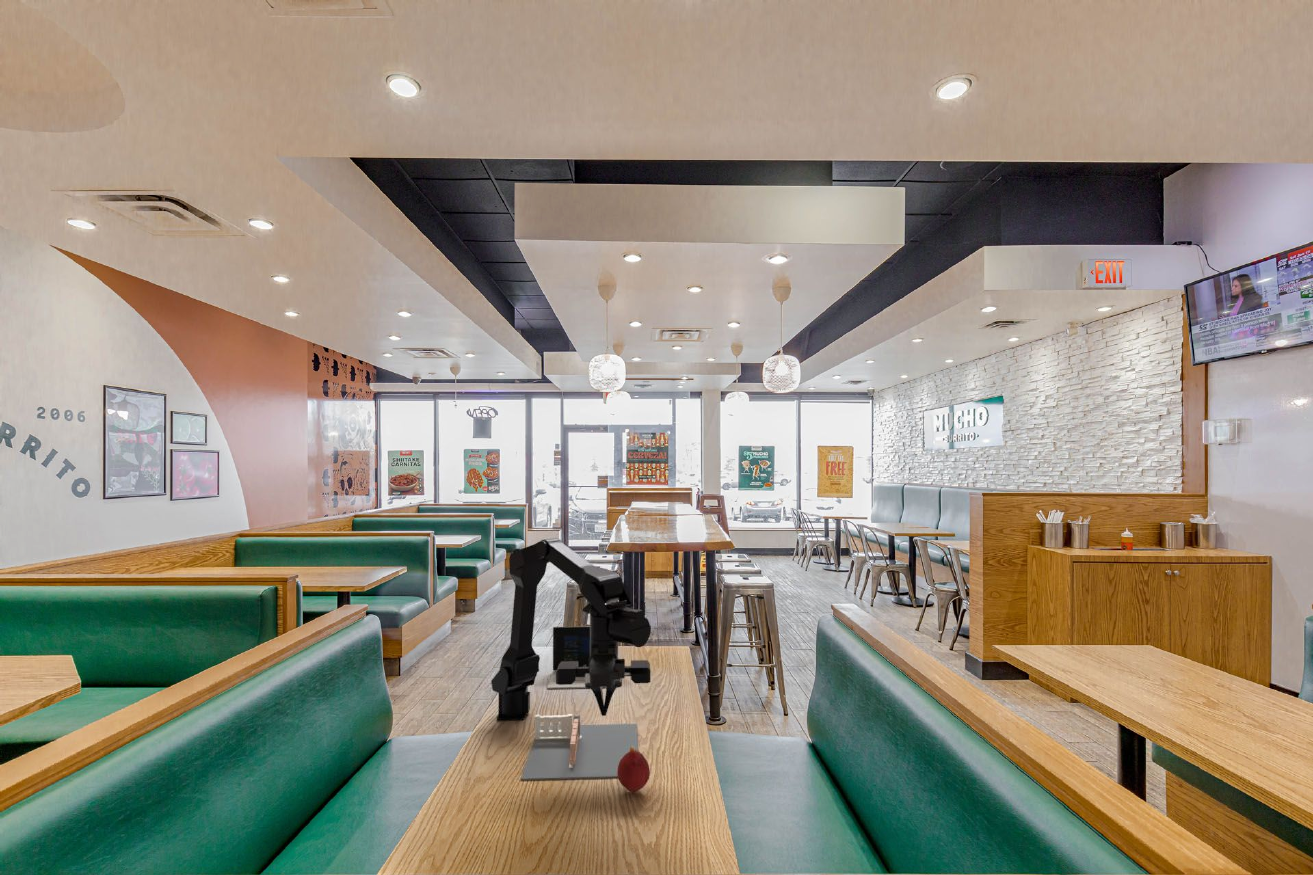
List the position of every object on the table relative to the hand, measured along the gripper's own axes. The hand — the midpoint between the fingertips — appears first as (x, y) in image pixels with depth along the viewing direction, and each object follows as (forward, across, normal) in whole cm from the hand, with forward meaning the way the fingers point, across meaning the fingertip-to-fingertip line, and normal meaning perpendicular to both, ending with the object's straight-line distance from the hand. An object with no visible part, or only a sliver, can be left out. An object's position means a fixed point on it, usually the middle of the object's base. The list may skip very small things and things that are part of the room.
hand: (603, 714), depth 120 cm
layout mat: (+8, -4, +3) cm, 10 cm away
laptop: (+9, -8, +42) cm, 44 cm away
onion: (+8, +6, -13) cm, 17 cm away
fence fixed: (+8, -11, +8) cm, 16 cm away
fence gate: (+8, -6, +2) cm, 10 cm away
